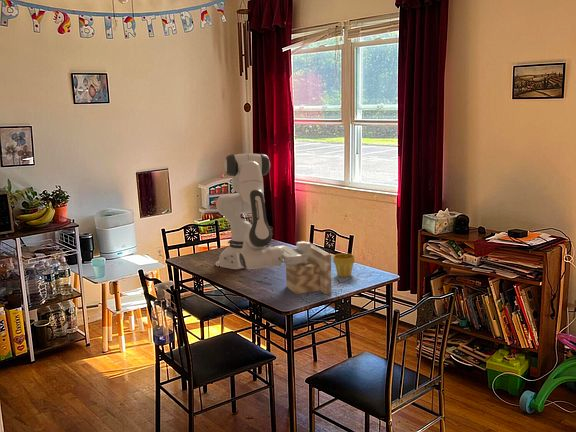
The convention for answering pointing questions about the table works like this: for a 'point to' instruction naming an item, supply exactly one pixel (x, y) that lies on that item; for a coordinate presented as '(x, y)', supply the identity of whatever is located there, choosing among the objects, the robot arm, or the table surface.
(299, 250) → the grey brown tall block
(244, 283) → the table surface
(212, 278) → the table surface
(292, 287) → the tan blocky piece
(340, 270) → the plant pot
